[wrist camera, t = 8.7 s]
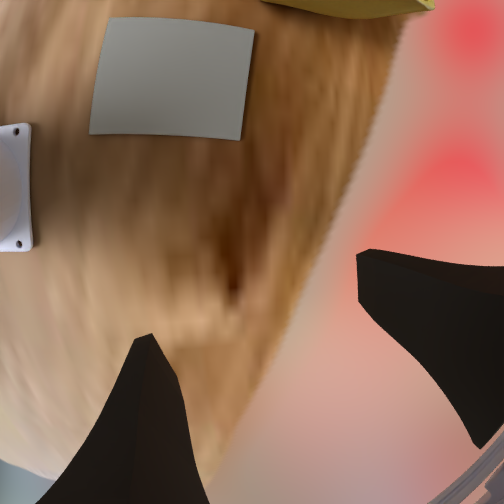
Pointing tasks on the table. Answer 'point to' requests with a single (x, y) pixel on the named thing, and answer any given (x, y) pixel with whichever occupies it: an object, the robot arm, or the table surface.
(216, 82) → the mat
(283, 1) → the flower pot
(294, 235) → the table surface
